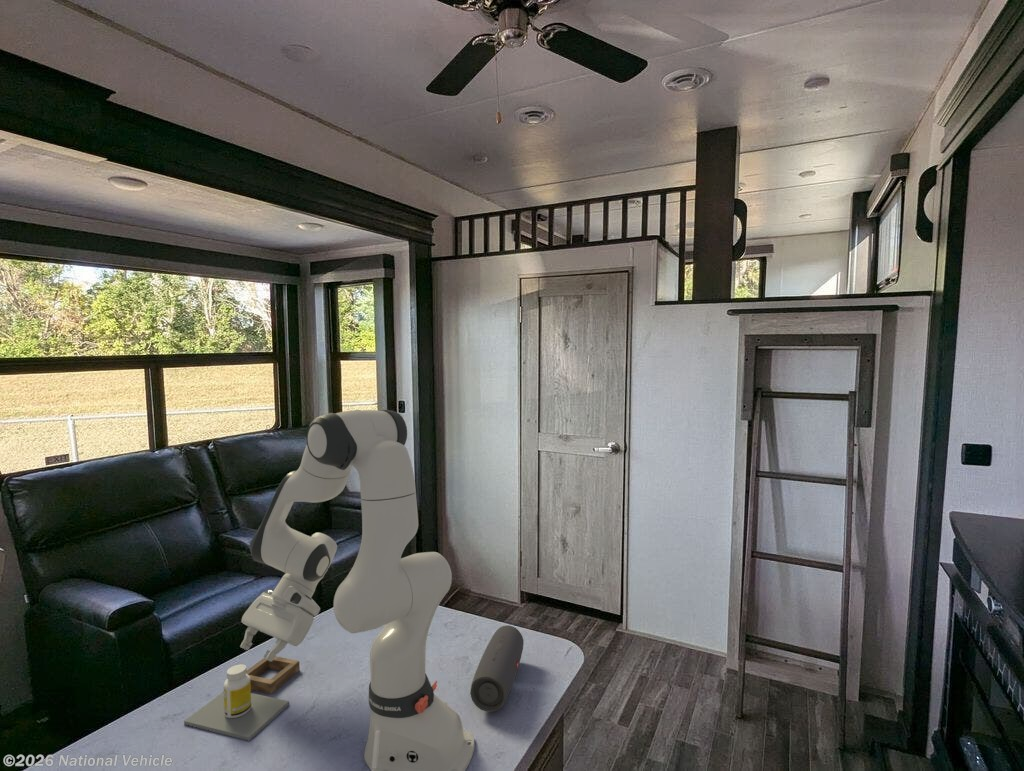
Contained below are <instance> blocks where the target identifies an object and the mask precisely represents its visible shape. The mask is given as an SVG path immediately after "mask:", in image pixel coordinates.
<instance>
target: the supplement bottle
mask: <svg viewBox="0 0 1024 771" xmlns="http://www.w3.org/2000/svg"><path fill="white" fill-rule="evenodd" d="M247 670H248V668H247V665H245V664H236V665H232V666H231V667H229V668H228V669H227V671H226V679H225V681H224V682H223V692H224V710H225V716H226V717H228V718H237V717H240V716H243V715H244V714H246V713H247V712H248V711H249V710H250V708H251V693H252V690H251V682H250V676H249V675H248V674H246V673H247Z"/></svg>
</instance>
